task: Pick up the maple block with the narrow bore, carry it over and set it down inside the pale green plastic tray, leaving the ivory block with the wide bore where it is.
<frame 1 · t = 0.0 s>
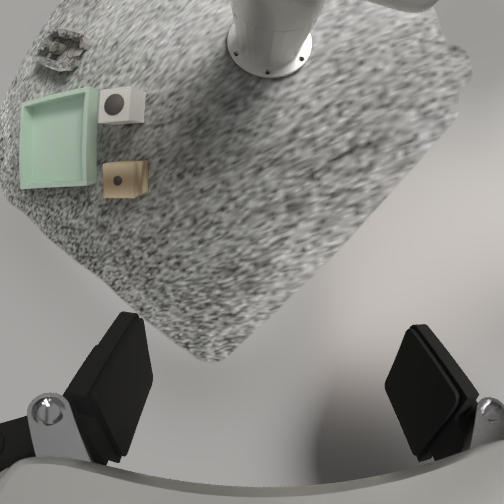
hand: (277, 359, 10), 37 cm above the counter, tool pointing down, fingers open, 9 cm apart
maple block: (133, 175, 43), on the counter
tray: (60, 139, 40), on the counter
egg carton: (67, 52, 35), on the counter
ivory block: (130, 108, 39), on the counter
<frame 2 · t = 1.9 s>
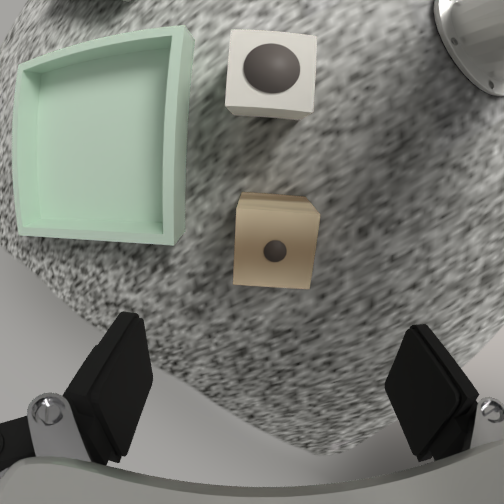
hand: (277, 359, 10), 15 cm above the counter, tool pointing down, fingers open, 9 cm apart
maple block: (271, 224, 24), on the counter
tray: (98, 137, 21), on the counter
ivory block: (268, 86, 20), on the counter
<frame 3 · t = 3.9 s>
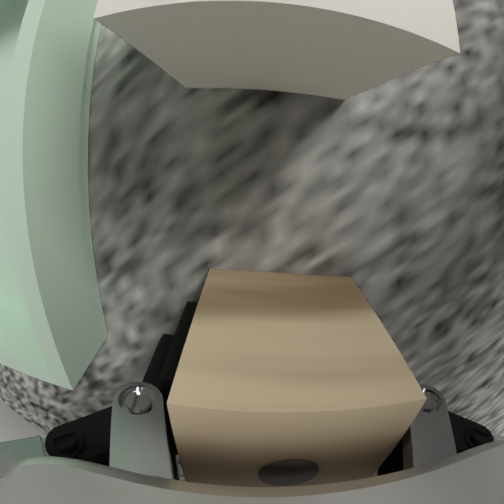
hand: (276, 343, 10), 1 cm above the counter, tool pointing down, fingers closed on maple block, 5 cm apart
maple block: (275, 332, 11), on the counter, touching gripper
ivory block: (270, 23, 7), on the counter
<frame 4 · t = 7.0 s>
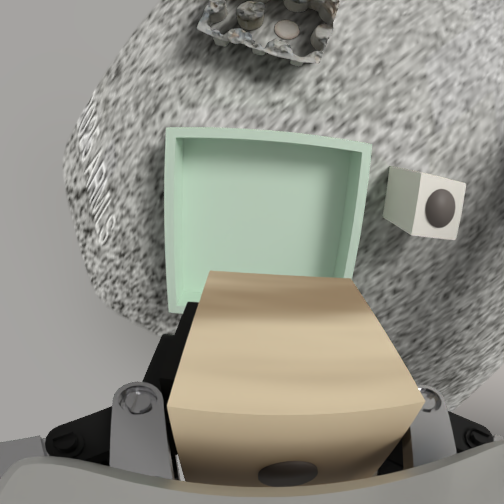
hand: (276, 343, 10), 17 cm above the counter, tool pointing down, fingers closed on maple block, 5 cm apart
maple block: (275, 333, 11), point 17 cm above the counter, touching gripper
tray: (262, 222, 27), on the counter
egg carton: (267, 27, 21), on the counter
ivory block: (407, 194, 26), on the counter
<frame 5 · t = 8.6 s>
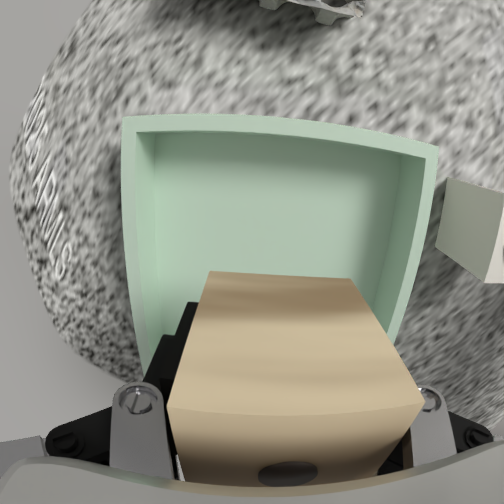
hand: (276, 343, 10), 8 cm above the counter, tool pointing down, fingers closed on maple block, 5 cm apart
maple block: (275, 334, 11), point 8 cm above the counter, touching gripper
tray: (272, 256, 18), on the counter
ivory block: (465, 216, 17), on the counter
when the fingers open (3 cm above the counter, at t = 10.1 s): maple block drops 1 cm, resting on tray.
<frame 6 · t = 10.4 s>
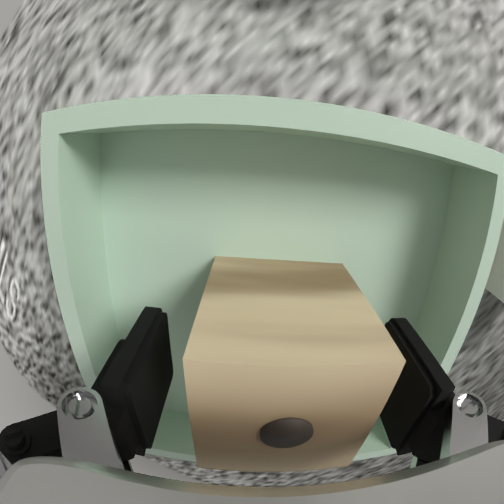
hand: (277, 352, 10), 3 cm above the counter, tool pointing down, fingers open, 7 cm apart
maple block: (274, 315, 12), point 1 cm above the counter, touching tray
tray: (272, 307, 13), on the counter
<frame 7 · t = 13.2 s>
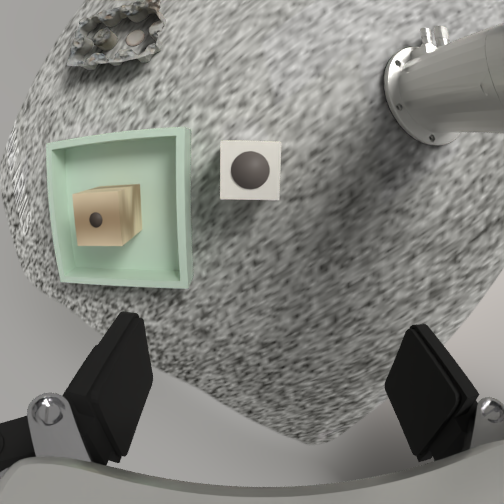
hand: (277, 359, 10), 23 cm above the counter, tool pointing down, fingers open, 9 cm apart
maple block: (120, 207, 30), point 1 cm above the counter, touching tray
tray: (121, 206, 30), on the counter
egg carton: (123, 42, 25), on the counter
ivory block: (248, 167, 30), on the counter
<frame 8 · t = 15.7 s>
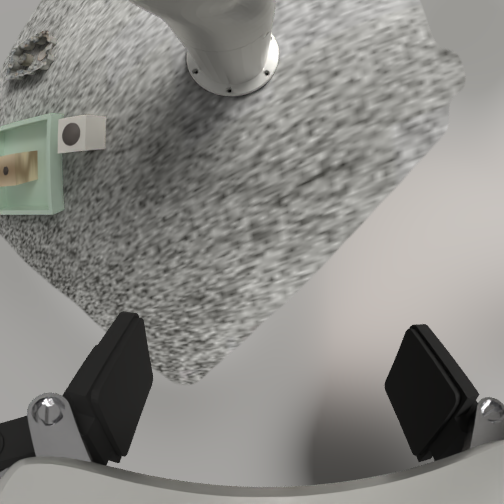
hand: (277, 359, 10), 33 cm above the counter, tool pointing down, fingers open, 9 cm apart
maple block: (28, 166, 38), point 1 cm above the counter, touching tray
tray: (30, 165, 38), on the counter
egg carton: (36, 59, 32), on the counter
ivory block: (92, 134, 37), on the counter
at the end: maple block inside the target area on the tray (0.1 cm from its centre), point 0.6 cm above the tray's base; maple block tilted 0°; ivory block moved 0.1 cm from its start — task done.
